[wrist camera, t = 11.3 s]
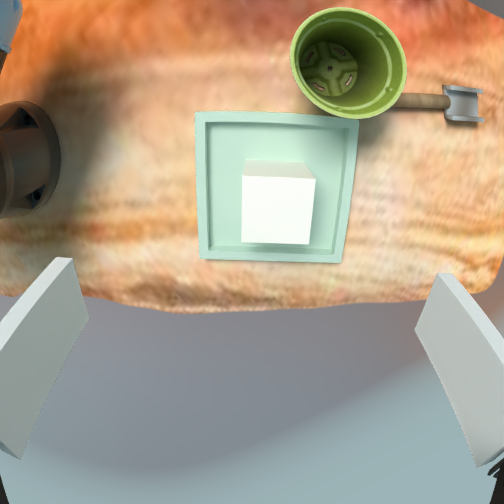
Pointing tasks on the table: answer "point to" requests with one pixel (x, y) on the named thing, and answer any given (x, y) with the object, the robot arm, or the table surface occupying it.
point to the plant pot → (348, 63)
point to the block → (277, 202)
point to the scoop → (446, 102)
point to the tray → (272, 148)
